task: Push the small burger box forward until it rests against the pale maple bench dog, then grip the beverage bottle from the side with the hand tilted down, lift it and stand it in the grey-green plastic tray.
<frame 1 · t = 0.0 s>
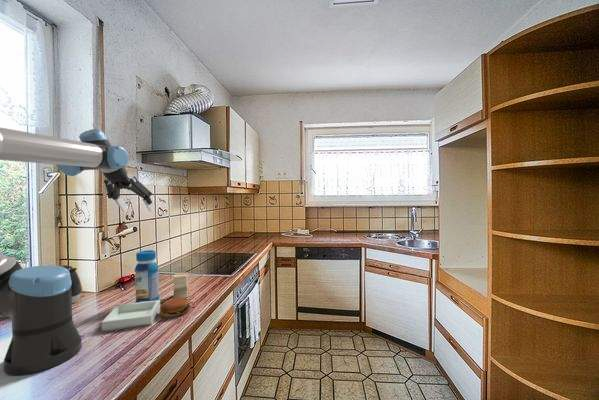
hand: (139, 209, 122), 36 cm above the worktop, tool tilted 35°, fingers open, 13 cm apart
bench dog: (181, 295, 115), on the worktop
tray: (133, 318, 95), on the worktop
beverage bottle: (147, 302, 110), on the worktop
burger: (175, 313, 100), on the worktop
pump dispenser: (66, 304, 110), on the worktop
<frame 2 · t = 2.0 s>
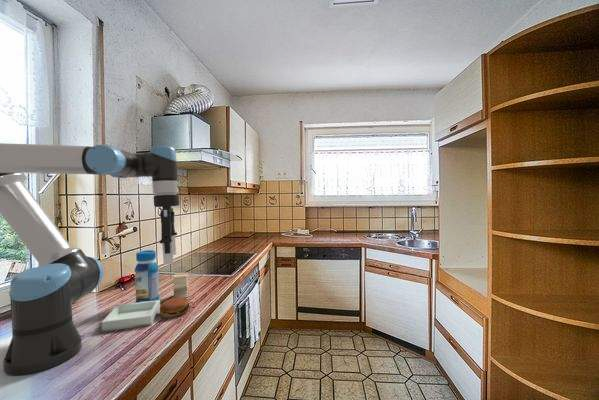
hand: (170, 259, 91), 21 cm above the worktop, tool pointing down, fingers open, 13 cm apart
nothing on the worktop moved.
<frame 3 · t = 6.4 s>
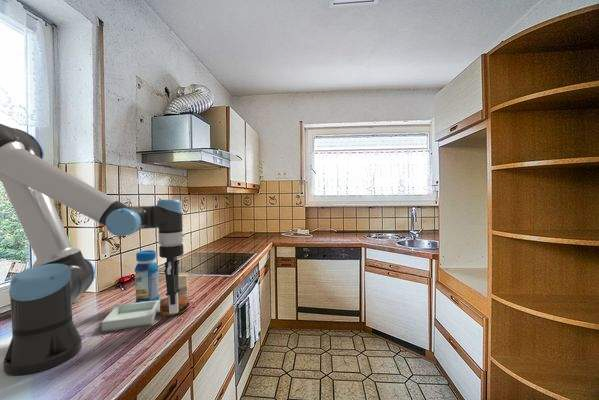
hand: (173, 312, 95), 2 cm above the worktop, tool pointing down, fingers closed
burger: (174, 311, 101), on the worktop, touching gripper
everything else where it was.
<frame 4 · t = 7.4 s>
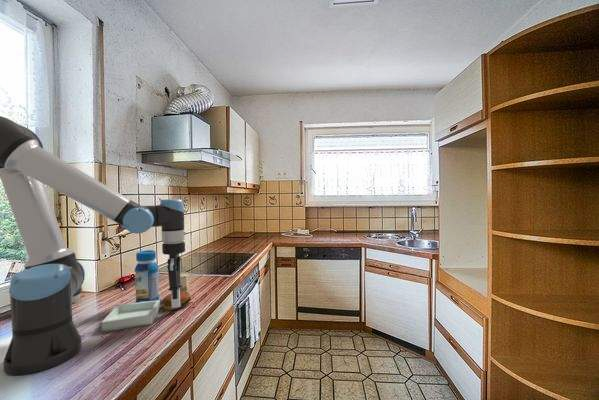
hand: (176, 306, 100), 2 cm above the worktop, tool pointing down, fingers closed
burger: (177, 306, 106), on the worktop, touching gripper
everything else where it was.
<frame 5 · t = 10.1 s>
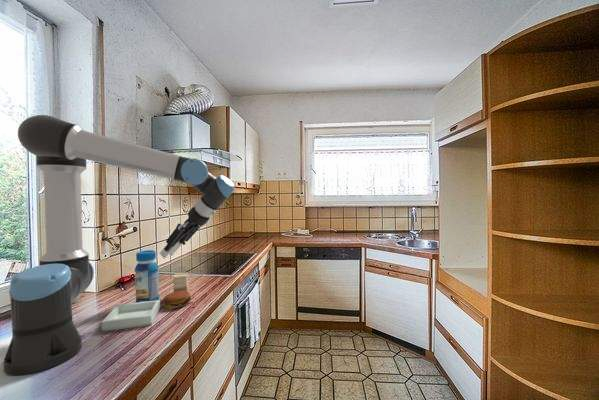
hand: (165, 254, 107), 19 cm above the worktop, tool tilted 45°, fingers open, 3 cm apart
burger: (177, 305, 107), on the worktop
everything else where it was.
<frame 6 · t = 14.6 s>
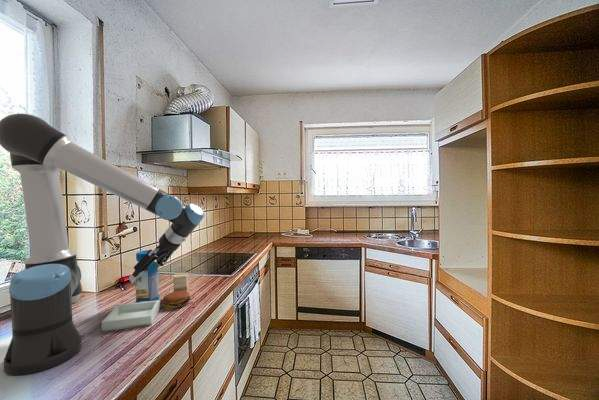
hand: (139, 277, 110), 10 cm above the worktop, tool tilted 45°, fingers closed on beverage bottle, 8 cm apart
beverage bottle: (147, 302, 110), on the worktop, touching gripper
everything else where it was.
when the fingers open (11 cm above the worktop, at t = 20.1 s): beverage bottle stays where it is, resting on tray.
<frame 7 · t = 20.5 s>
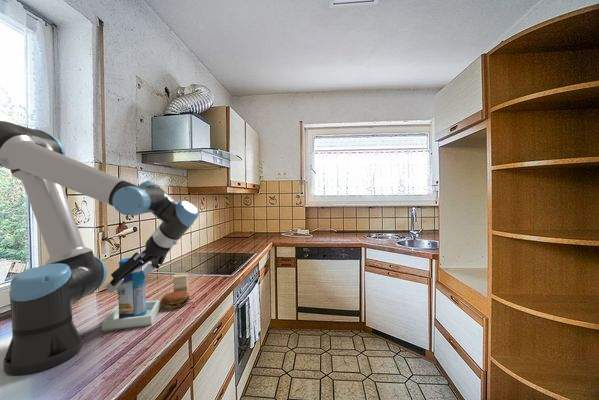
hand: (126, 283, 95), 12 cm above the worktop, tool tilted 45°, fingers open, 12 cm apart
beverage bottle: (133, 317, 95), resting on tray
everything else where it was.
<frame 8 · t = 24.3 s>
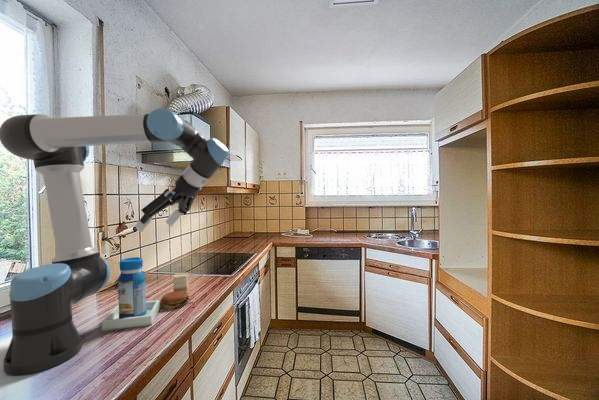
hand: (154, 226, 94), 32 cm above the worktop, tool tilted 45°, fingers open, 13 cm apart
nothing on the worktop moved.
at the end: burger inside the target area (1.5 cm from its centre), on the worktop; beverage bottle inside the target area on the tray (0.4 cm from its centre), point 0.4 cm above the tray's base; beverage bottle tilted 0° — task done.
